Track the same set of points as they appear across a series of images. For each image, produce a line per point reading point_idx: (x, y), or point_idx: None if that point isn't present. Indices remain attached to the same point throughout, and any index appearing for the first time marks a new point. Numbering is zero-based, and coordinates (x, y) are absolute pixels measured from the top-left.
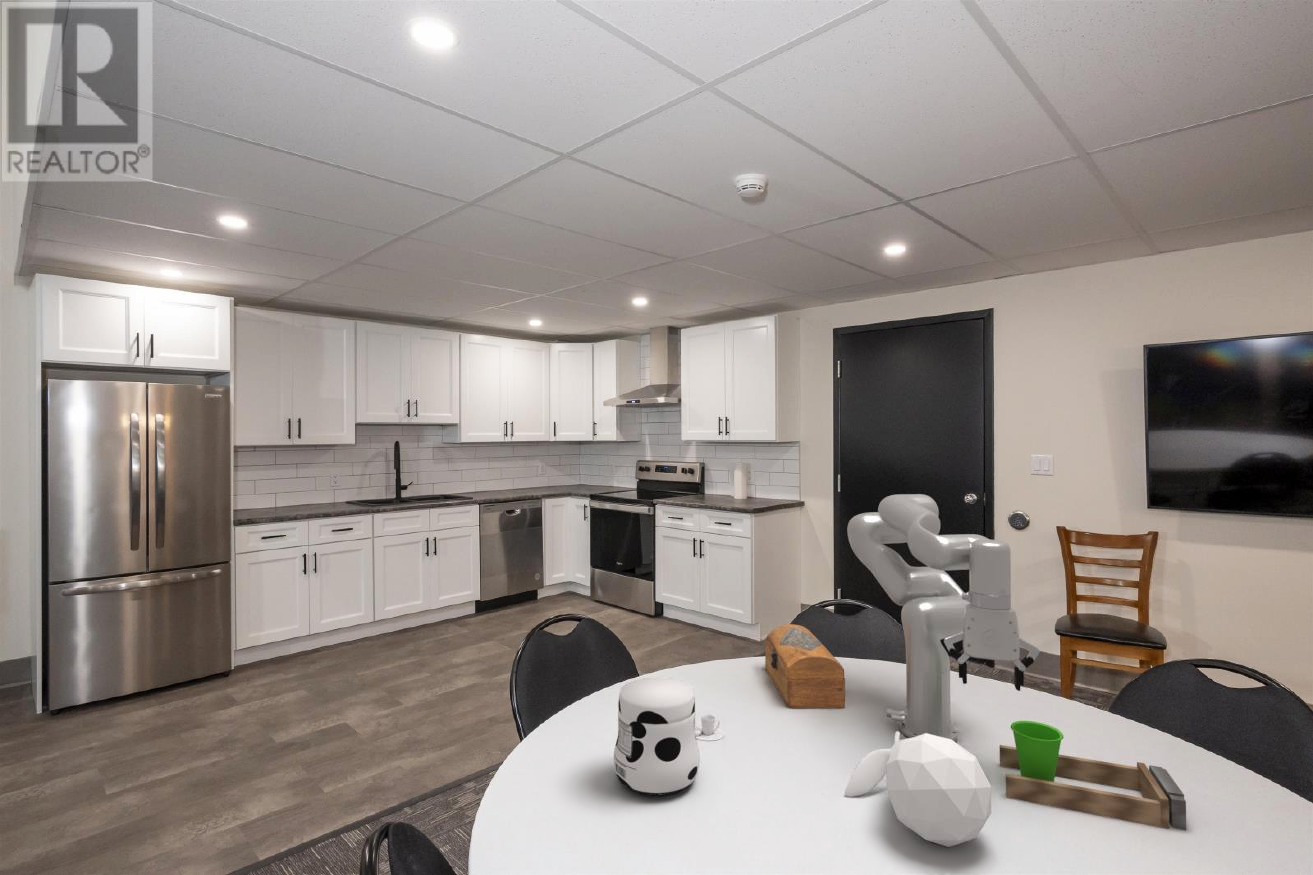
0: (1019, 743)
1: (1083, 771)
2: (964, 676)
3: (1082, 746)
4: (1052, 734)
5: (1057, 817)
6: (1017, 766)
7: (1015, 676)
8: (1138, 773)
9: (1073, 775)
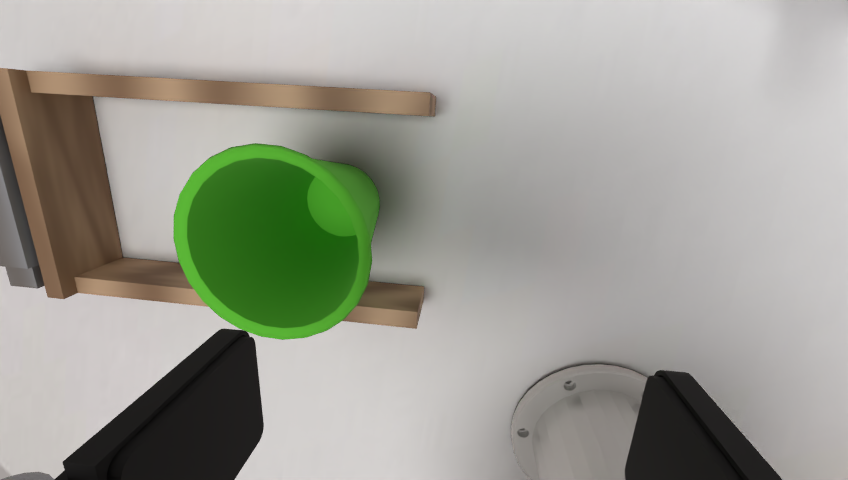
0: (355, 197)
1: None
2: (715, 416)
3: None
4: (225, 281)
5: (315, 26)
6: (379, 285)
7: (192, 449)
8: (84, 272)
9: None
